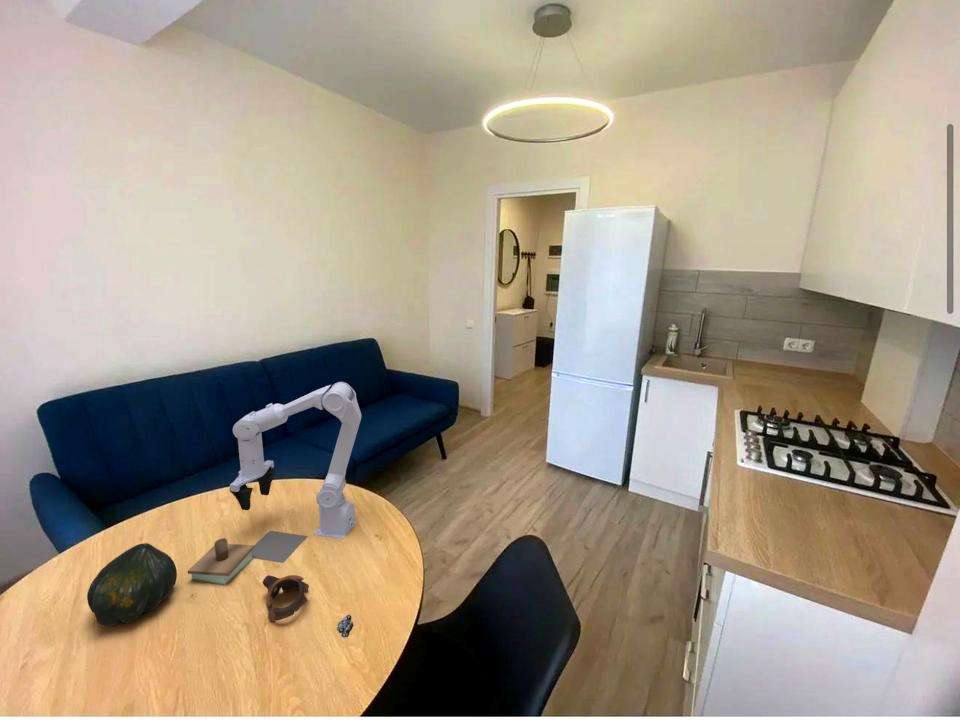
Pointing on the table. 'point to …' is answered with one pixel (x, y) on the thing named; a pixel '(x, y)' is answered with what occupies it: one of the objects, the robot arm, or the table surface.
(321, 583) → the table surface
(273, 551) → the mat
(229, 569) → the lid
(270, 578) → the pottery mug
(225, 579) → the dish
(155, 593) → the squash
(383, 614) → the table surface
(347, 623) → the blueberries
